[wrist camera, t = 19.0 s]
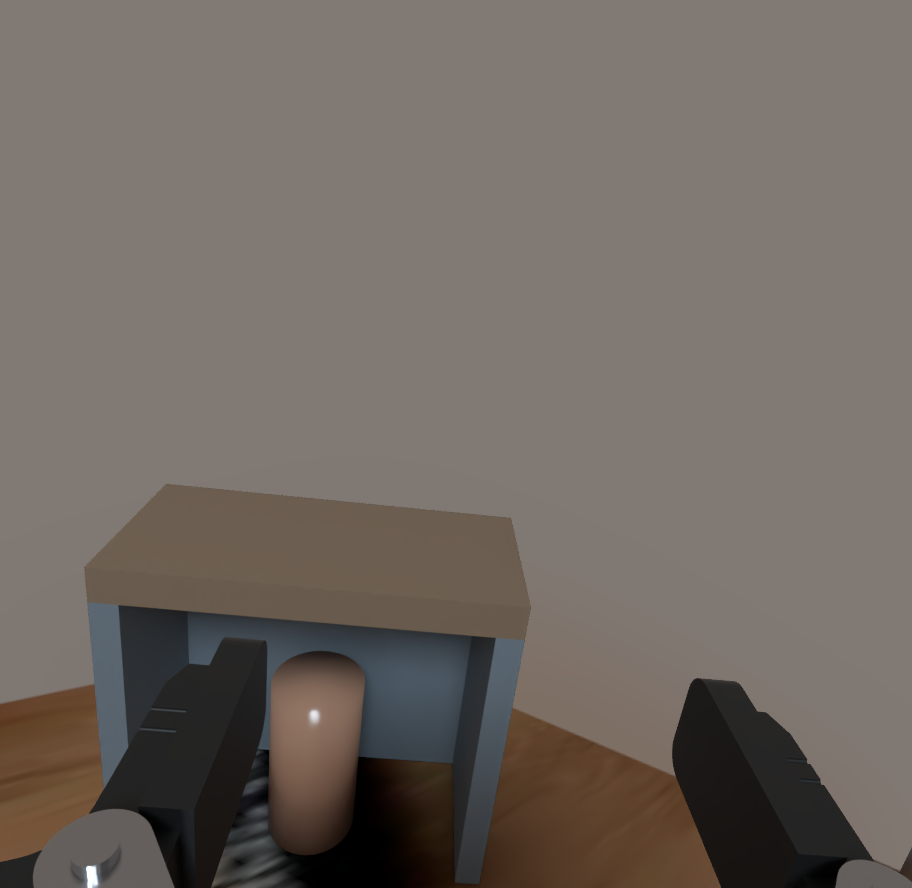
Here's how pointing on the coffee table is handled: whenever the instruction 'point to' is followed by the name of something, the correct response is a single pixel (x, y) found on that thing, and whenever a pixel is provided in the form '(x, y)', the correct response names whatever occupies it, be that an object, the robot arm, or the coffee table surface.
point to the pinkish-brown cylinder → (314, 750)
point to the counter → (395, 702)
